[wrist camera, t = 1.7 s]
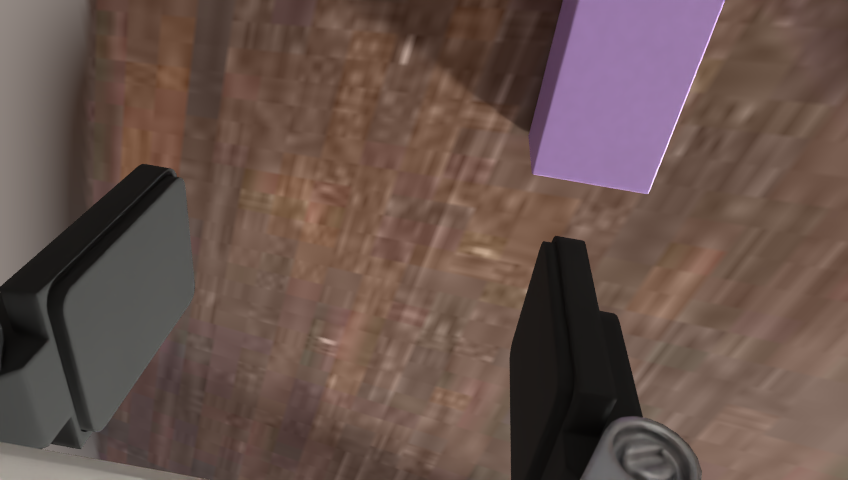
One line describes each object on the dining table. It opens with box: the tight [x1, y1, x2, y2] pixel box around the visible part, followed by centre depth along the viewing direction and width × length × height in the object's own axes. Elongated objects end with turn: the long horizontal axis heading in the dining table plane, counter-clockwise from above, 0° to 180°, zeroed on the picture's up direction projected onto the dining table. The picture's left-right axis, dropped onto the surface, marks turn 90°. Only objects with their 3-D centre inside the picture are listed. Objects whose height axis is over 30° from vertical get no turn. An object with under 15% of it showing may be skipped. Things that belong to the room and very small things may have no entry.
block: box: [529, 0, 725, 194], centre depth 25 cm, size 8×5×4 cm, turn 172°
